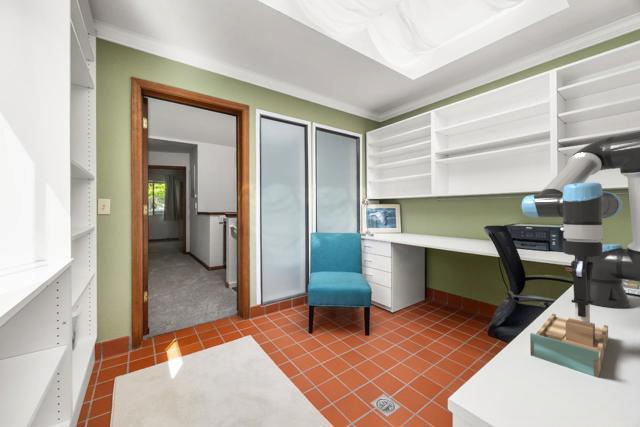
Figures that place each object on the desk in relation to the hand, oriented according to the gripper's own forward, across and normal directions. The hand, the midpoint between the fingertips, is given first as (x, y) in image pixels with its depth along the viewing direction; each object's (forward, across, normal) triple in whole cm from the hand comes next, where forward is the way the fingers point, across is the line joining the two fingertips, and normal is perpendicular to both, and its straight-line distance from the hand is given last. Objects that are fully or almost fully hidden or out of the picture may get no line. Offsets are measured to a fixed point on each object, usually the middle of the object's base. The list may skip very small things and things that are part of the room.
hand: (582, 327), depth 71 cm
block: (+3, +3, 0) cm, 4 cm away
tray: (+5, +2, -2) cm, 6 cm away
